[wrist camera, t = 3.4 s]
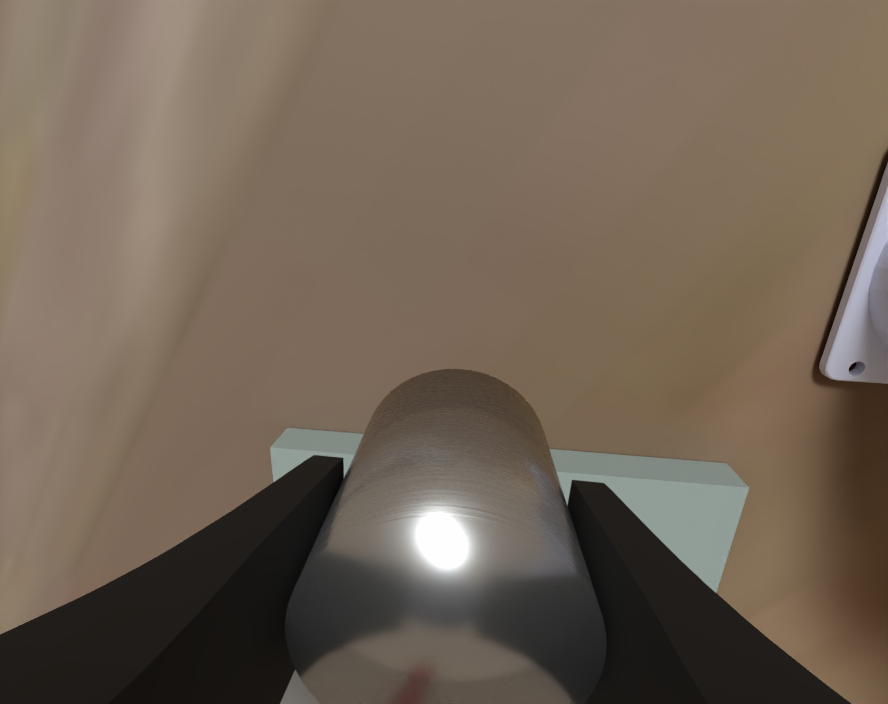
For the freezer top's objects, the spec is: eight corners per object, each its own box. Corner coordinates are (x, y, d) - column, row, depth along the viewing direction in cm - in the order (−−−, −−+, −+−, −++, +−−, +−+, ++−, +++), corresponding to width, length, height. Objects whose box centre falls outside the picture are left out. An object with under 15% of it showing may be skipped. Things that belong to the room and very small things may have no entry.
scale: (726, 463, 18) (818, 563, 13) (642, 756, 24) (683, 902, 19) (277, 426, 19) (205, 506, 14) (303, 714, 25) (258, 841, 20)
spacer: (557, 375, 10) (635, 531, 5) (535, 534, 11) (579, 767, 7) (364, 362, 10) (273, 503, 5) (365, 520, 12) (294, 740, 7)
